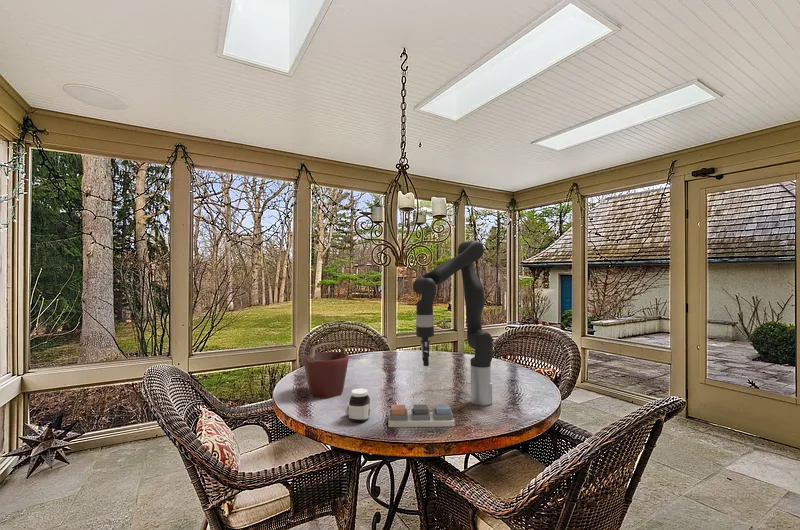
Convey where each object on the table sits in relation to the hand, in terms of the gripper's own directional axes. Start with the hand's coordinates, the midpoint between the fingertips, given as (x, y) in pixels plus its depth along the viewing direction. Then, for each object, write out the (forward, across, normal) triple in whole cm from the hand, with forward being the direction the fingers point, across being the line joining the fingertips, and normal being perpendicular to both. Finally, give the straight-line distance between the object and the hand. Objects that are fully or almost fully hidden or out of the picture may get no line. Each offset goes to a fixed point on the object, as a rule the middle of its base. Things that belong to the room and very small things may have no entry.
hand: (425, 363), depth 162 cm
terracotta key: (+18, -6, +12) cm, 23 cm away
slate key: (+19, -6, -6) cm, 21 cm away
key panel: (+22, -6, +3) cm, 23 cm away
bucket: (+22, +31, +49) cm, 62 cm away
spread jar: (+22, -2, +29) cm, 37 cm away
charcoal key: (+18, -6, +3) cm, 20 cm away
